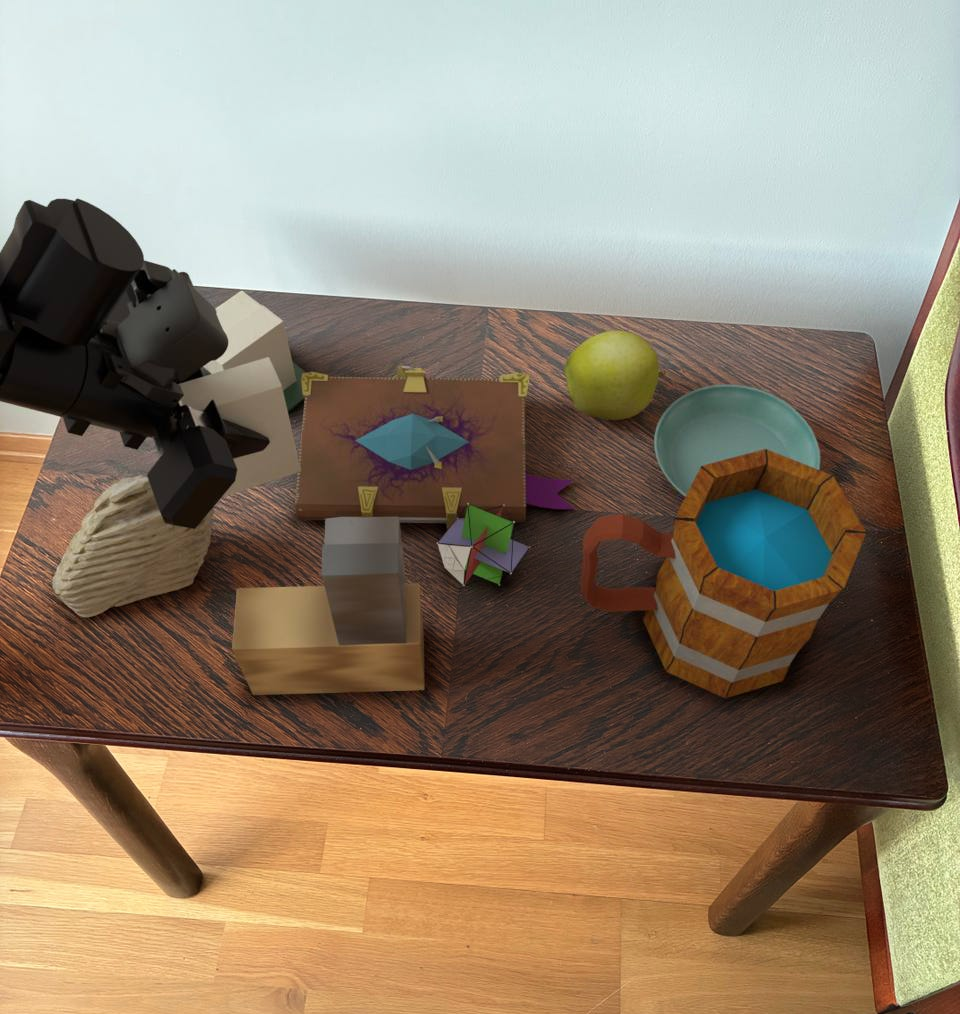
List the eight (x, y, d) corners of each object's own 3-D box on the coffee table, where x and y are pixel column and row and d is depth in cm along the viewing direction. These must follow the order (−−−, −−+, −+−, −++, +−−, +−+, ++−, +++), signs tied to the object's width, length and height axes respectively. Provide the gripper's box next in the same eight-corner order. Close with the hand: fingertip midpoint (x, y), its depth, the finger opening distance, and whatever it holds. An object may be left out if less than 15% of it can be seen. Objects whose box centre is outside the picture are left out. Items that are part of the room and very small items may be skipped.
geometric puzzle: (474, 490, 89) (448, 488, 81) (546, 519, 87) (526, 519, 80) (445, 567, 90) (417, 572, 82) (516, 596, 89) (494, 604, 81)
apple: (668, 428, 95) (684, 369, 88) (573, 446, 94) (582, 387, 87) (642, 366, 98) (656, 304, 91) (551, 382, 97) (558, 320, 90)
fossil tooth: (62, 581, 88) (223, 510, 90) (80, 638, 85) (247, 564, 87) (-7, 505, 78) (177, 427, 80) (11, 567, 75) (201, 485, 77)
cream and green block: (254, 438, 94) (237, 378, 87) (185, 379, 97) (162, 317, 90) (322, 386, 96) (310, 325, 89) (252, 331, 100) (236, 268, 92)
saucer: (828, 529, 90) (837, 512, 87) (662, 537, 89) (667, 521, 87) (793, 399, 96) (801, 379, 94) (639, 405, 96) (643, 386, 94)
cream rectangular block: (216, 499, 80) (185, 415, 71) (205, 471, 81) (174, 384, 72) (301, 471, 81) (282, 386, 72) (289, 444, 82) (268, 356, 74)
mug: (799, 561, 88) (858, 455, 75) (809, 704, 82) (876, 616, 69) (572, 545, 89) (591, 436, 75) (565, 685, 83) (584, 594, 69)
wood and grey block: (252, 695, 82) (199, 580, 66) (257, 637, 84) (206, 512, 68) (424, 690, 82) (414, 574, 66) (423, 633, 85) (413, 507, 68)
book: (575, 537, 90) (580, 508, 85) (295, 534, 90) (285, 504, 85) (569, 387, 97) (574, 352, 92) (309, 384, 97) (301, 349, 92)
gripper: (168, 389, 58) (367, 449, 70) (88, 180, 65) (280, 267, 77) (76, 513, 63) (276, 549, 75) (12, 307, 71) (202, 370, 83)
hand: (259, 428), depth 77 cm, fingers closed on cream rectangular block, 3 cm apart
